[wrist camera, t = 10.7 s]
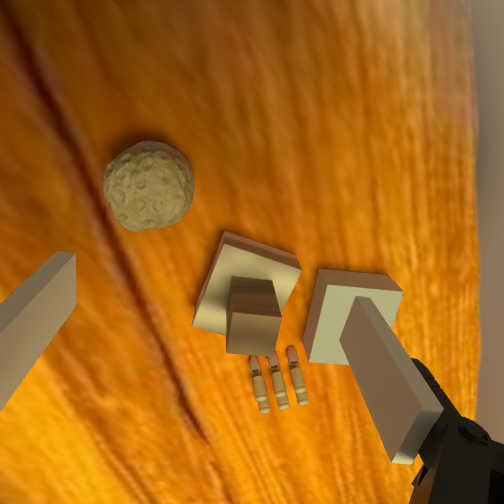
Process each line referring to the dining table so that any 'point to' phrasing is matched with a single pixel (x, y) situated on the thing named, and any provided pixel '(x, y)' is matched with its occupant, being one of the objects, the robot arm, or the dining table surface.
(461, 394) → the dining table surface
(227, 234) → the pale oak block
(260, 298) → the walnut block
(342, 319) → the grey painted block
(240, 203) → the dining table surface
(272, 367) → the ammunition
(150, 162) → the coral
